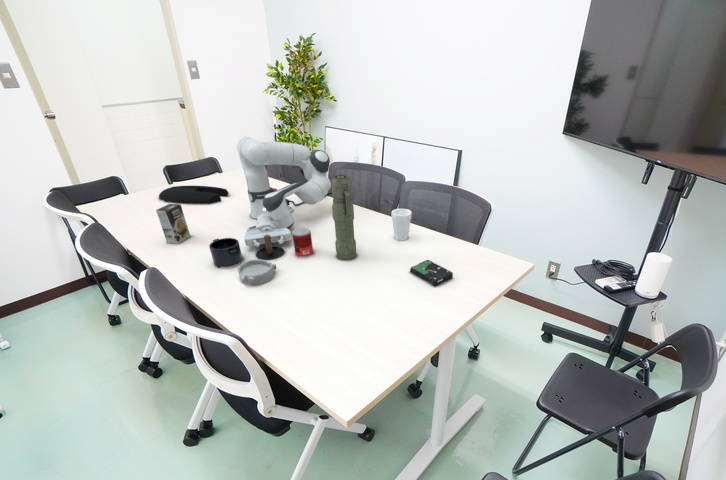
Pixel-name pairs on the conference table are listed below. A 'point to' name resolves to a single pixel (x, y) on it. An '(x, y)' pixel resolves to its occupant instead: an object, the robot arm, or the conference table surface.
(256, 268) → the dish
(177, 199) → the black flat oval slab
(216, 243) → the pot
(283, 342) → the conference table surface
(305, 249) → the canned food
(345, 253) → the thermos
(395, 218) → the foam cup
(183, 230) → the coffee box
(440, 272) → the disk drive
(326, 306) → the conference table surface
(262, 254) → the lid
